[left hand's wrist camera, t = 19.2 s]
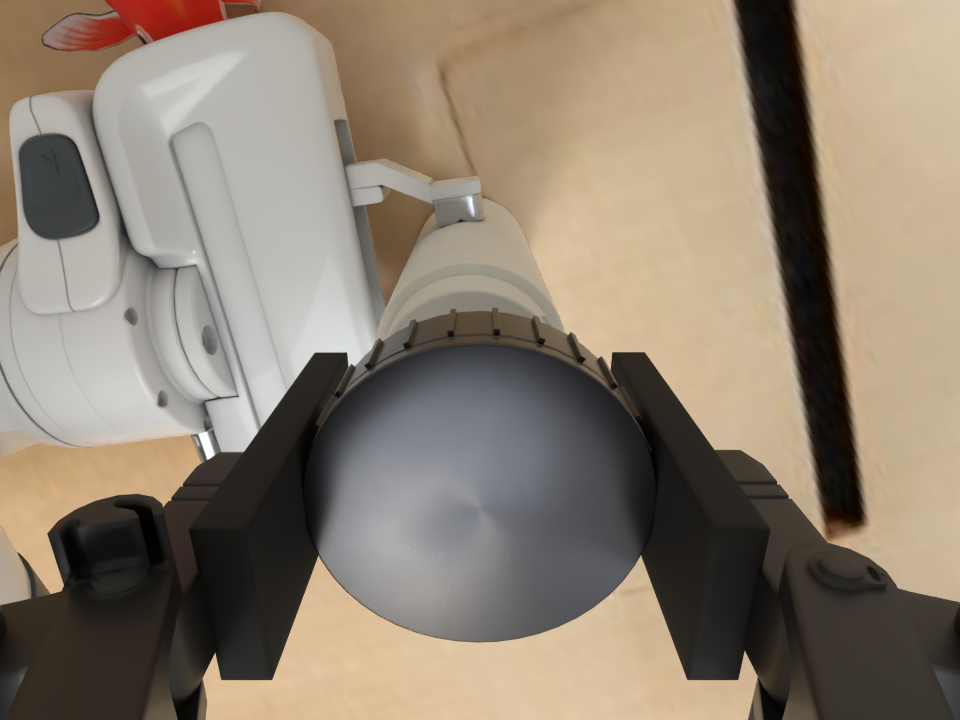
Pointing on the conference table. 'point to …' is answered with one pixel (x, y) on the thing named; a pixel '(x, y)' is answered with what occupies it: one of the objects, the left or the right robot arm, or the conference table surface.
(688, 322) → the conference table surface
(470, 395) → the lid
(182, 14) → the fish
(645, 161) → the conference table surface
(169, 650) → the left robot arm
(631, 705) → the conference table surface
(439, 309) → the jar
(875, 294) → the conference table surface
